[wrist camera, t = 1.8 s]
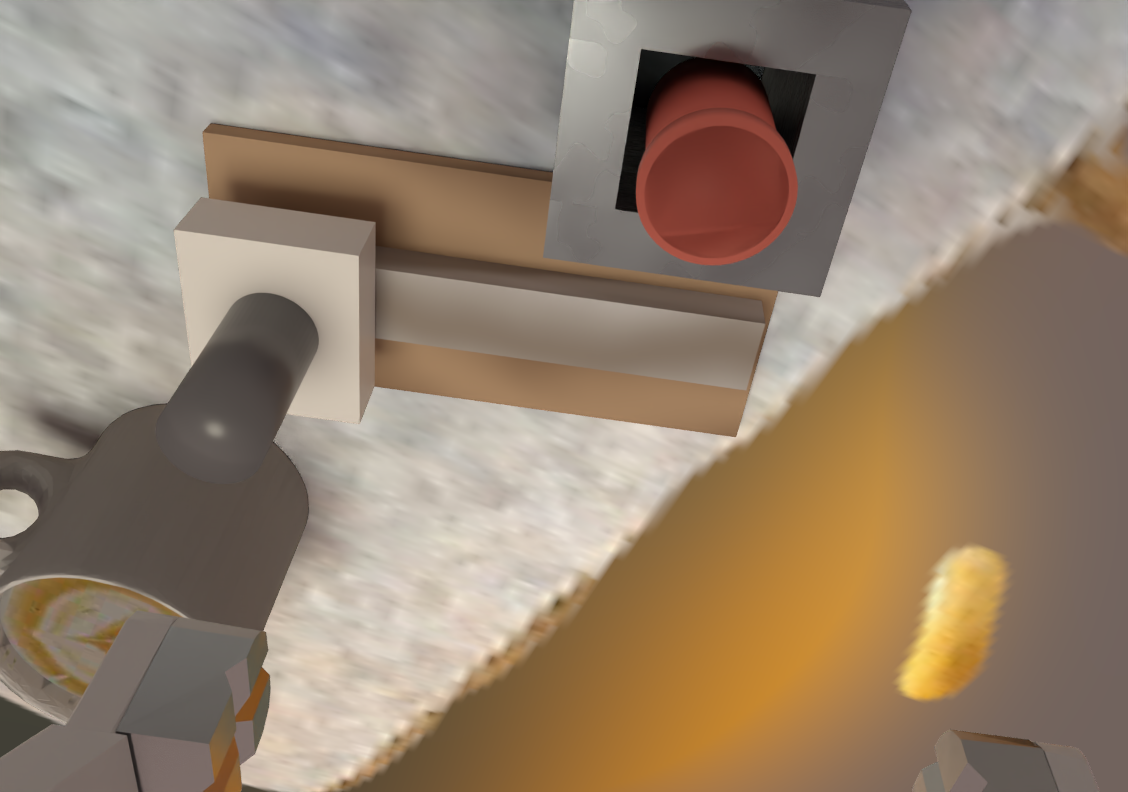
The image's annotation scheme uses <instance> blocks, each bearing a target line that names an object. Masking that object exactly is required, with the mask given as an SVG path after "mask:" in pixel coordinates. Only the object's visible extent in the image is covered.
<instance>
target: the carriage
mask: <svg viewBox="0 0 1128 792" xmlns="http://www.w3.org/2000/svg"><path fill="white" fill-rule="evenodd" d="M375 231H376V222H371V221H364V220H357V219H350V218H343V217H336V216H329V215H322V214H315V213H308V212H301V211H294V210H287V209H280V208H273V207H266V206H259V205H252V204H245V203H238V202H231V201H224V200H217V199H210V198H203V197H201V198H200V199H199V200H198V202H197V203H196V204H195V205H194V206H193V207H192V209H191V210H190V211H189V212H188V213H187V215H186V216H185V217H184V218H183V219H182V220H181V222H180V223H179V224H178V225H177V226H176V228H175V229H174V235H175V243H176V251H177V258H178V266H179V274H180V282H181V289H182V297H183V305H184V312H185V320H186V328H187V335H188V343H189V351H190V359H191V366H192V367H191V369H190V370H189V372H188V373H187V375H186V376H185V378H184V379H183V381H182V382H181V384H180V385H179V387H178V388H177V390H176V391H175V393H174V395H173V396H172V398H171V399H170V401H169V402H168V404H167V405H166V407H165V408H164V410H163V411H162V413H161V414H160V416H159V418H158V420H157V423H156V429H155V433H156V439H157V442H158V445H159V447H160V449H161V451H162V452H163V454H164V455H165V456H166V458H167V459H168V460H169V461H170V462H171V463H172V464H173V465H174V466H176V467H177V468H178V469H180V470H181V471H183V472H184V473H186V474H188V475H190V476H192V477H194V478H196V479H199V480H202V481H205V482H209V483H215V484H233V483H238V482H241V481H244V480H246V479H248V478H250V477H251V476H253V475H254V474H255V473H256V472H257V471H258V470H259V468H260V466H261V464H262V462H263V460H264V458H265V456H266V454H267V452H268V450H269V448H270V446H271V444H272V442H273V440H274V438H275V436H276V434H277V432H278V430H279V428H280V426H281V424H282V422H283V420H284V418H285V415H286V414H290V415H298V416H305V417H312V418H319V419H326V420H333V421H340V422H347V423H355V424H360V422H361V419H362V417H363V414H364V412H365V409H366V407H367V404H368V401H369V399H370V396H371V394H372V391H373V388H374V386H375Z"/></svg>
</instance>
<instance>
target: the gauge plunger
mask: <svg viewBox="0 0 1128 792" xmlns="http://www.w3.org/2000/svg"><path fill="white" fill-rule="evenodd" d="M797 192H798V182H797V175H796V170H795V166H794V162H793V159H792V156H791V153H790V151H789V148H788V146H787V145H786V143H785V141H784V139H783V138H782V137H781V136H780V134H779V133H778V132H777V131H776V127H775V123H774V119H773V115H772V111H771V107H770V104H769V100H768V96H767V93H766V90H765V88H764V86H763V84H762V82H761V81H760V79H759V78H758V77H757V75H756V74H755V73H754V72H753V71H752V70H751V69H749V68H748V67H747V66H745V65H744V64H742V63H735V62H728V61H721V60H714V59H707V58H700V57H695V58H692V59H689V60H686V61H684V62H682V63H680V64H678V65H676V66H675V67H673V68H672V69H671V70H670V71H668V72H667V73H666V74H665V75H664V76H663V77H662V78H661V79H660V81H659V82H658V83H657V85H656V86H655V88H654V90H653V92H652V94H651V96H650V99H649V102H648V106H647V112H646V142H645V152H644V154H643V156H642V159H641V161H640V164H639V168H638V172H637V181H636V204H637V209H638V214H639V217H640V220H641V222H642V224H643V226H644V228H645V230H646V231H647V233H648V234H649V236H650V237H651V238H652V239H653V240H654V241H655V243H656V244H657V245H659V246H660V247H661V248H662V249H663V250H665V251H666V252H668V253H669V254H671V255H673V256H675V257H677V258H679V259H681V260H684V261H687V262H690V263H695V264H700V265H724V264H731V263H735V262H738V261H741V260H744V259H747V258H749V257H751V256H753V255H755V254H757V253H759V252H760V251H762V250H763V249H765V248H766V247H767V246H769V245H770V244H771V243H772V242H773V241H774V240H775V239H776V238H777V237H778V236H779V235H780V234H781V233H782V231H783V230H784V228H785V227H786V225H787V224H788V222H789V220H790V218H791V216H792V214H793V211H794V208H795V205H796V200H797Z"/></svg>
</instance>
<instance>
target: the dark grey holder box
mask: <svg viewBox="0 0 1128 792" xmlns="http://www.w3.org/2000/svg"><path fill="white" fill-rule="evenodd" d="M910 14H911V9H910V8H909V6H908V5H907V4H906V2H905V1H904V0H574V5H573V13H572V21H571V29H570V38H569V46H568V54H567V62H566V71H565V79H564V87H563V96H562V104H561V112H560V120H559V129H558V137H557V145H556V154H555V162H554V170H553V178H552V187H551V195H550V203H549V211H548V220H547V228H546V236H545V245H544V253H543V258H549V259H556V260H563V261H570V262H577V263H584V264H591V265H598V266H605V267H612V268H619V269H626V270H633V271H640V272H647V273H654V274H661V275H668V276H675V277H682V278H689V279H696V280H703V281H711V282H718V283H725V284H732V285H739V286H746V287H753V288H760V289H767V290H774V291H781V292H788V293H795V294H802V295H809V296H816V297H820V296H821V293H822V289H823V286H824V283H825V280H826V277H827V274H828V271H829V268H830V264H831V261H832V258H833V255H834V252H835V249H836V246H837V243H838V239H839V236H840V233H841V230H842V227H843V224H844V221H845V217H846V214H847V211H848V208H849V205H850V202H851V199H852V196H853V192H854V189H855V186H856V183H857V180H858V177H859V174H860V170H861V167H862V164H863V161H864V158H865V155H866V152H867V149H868V145H869V142H870V139H871V136H872V133H873V130H874V127H875V124H876V120H877V117H878V114H879V111H880V108H881V105H882V102H883V98H884V95H885V92H886V89H887V86H888V83H889V80H890V77H891V73H892V70H893V67H894V64H895V61H896V58H897V55H898V51H899V48H900V45H901V42H902V39H903V36H904V33H905V30H906V26H907V23H908V20H909V17H910ZM641 49H645V50H652V51H659V52H666V53H672V54H679V55H686V56H693V57H700V58H707V59H714V60H721V61H728V62H735V63H742V64H748V65H755V66H762V67H765V68H764V72H763V76H762V80H761V82H762V84H763V86H764V88H765V90H766V93H767V96H768V100H769V104H770V107H771V111H772V115H773V119H774V123H775V127H776V131H777V132H778V133H779V134H780V136H781V137H782V138H783V139H784V141H785V143H786V145H787V146H788V148H789V151H790V153H791V156H792V159H793V162H794V166H795V170H796V175H797V182H798V192H797V200H796V205H795V208H794V211H793V214H792V216H791V218H790V220H789V222H788V224H787V225H786V227H785V228H784V230H783V231H782V233H781V234H780V235H779V236H778V237H777V238H776V239H775V240H774V241H773V242H772V243H771V244H770V245H769V246H767V247H766V248H765V249H763V250H762V251H760V252H759V253H757V254H755V255H753V256H751V257H749V258H747V259H744V260H741V261H738V262H735V263H731V264H724V265H700V264H695V263H690V262H687V261H684V260H681V259H679V258H677V257H675V256H673V255H671V254H669V253H668V252H666V251H665V250H663V249H662V248H661V247H660V246H659V245H657V244H656V243H655V241H654V240H653V239H652V238H651V237H650V236H649V234H648V233H647V231H646V230H645V228H644V226H643V224H642V222H641V220H640V217H639V214H638V209H637V204H636V181H637V172H638V168H639V164H640V161H641V159H642V156H643V154H644V152H645V142H646V112H647V108H643V107H636V106H632V102H633V96H634V90H635V84H636V78H637V72H638V66H639V60H640V54H641Z"/></svg>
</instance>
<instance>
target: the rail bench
mask: <svg viewBox="0 0 1128 792" xmlns="http://www.w3.org/2000/svg"><path fill="white" fill-rule="evenodd" d="M203 142H204V152H205V161H206V171H207V180H208V190H209V198H210V199H217V200H224V201H231V202H238V203H245V204H252V205H259V206H266V207H273V208H280V209H287V210H294V211H301V212H308V213H315V214H322V215H329V216H336V217H343V218H350V219H357V220H364V221H371V222H376V231H375V386H376V387H383V388H390V389H397V390H404V391H411V392H418V393H426V394H433V395H440V396H447V397H454V398H461V399H468V400H475V401H482V402H490V403H497V404H504V405H511V406H518V407H525V408H532V409H539V410H546V411H554V412H561V413H568V414H575V415H582V416H589V417H596V418H603V419H610V420H618V421H625V422H632V423H639V424H646V425H653V426H660V427H667V428H675V429H682V430H689V431H696V432H703V433H710V434H717V435H724V436H731V437H736V436H737V432H738V429H739V425H740V422H741V418H742V415H743V411H744V408H745V404H746V401H747V397H748V394H749V390H750V387H751V384H752V380H753V377H754V373H755V370H756V366H757V363H758V359H759V356H760V352H761V349H762V345H763V342H764V338H765V335H766V332H767V328H768V325H769V321H770V318H771V314H772V311H773V307H774V304H775V300H776V297H777V293H778V291H774V290H767V289H760V288H753V287H746V286H739V285H732V284H725V283H718V282H711V281H703V280H696V279H689V278H682V277H675V276H668V275H661V274H654V273H647V272H640V271H633V270H626V269H619V268H612V267H605V266H598V265H591V264H584V263H577V262H570V261H563V260H556V259H549V258H543V253H544V245H545V236H546V228H547V220H548V211H549V203H550V195H551V187H552V178H553V173H552V172H546V171H539V170H532V169H525V168H518V167H511V166H504V165H497V164H490V163H483V162H476V161H469V160H462V159H455V158H448V157H441V156H434V155H427V154H420V153H413V152H406V151H399V150H392V149H385V148H378V147H371V146H364V145H357V144H350V143H343V142H336V141H329V140H322V139H315V138H308V137H301V136H294V135H287V134H280V133H273V132H266V131H259V130H252V129H246V128H239V127H232V126H225V125H218V124H210V125H209V126H208V127H207V128H206V129H205V130H204V131H203Z"/></svg>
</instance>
